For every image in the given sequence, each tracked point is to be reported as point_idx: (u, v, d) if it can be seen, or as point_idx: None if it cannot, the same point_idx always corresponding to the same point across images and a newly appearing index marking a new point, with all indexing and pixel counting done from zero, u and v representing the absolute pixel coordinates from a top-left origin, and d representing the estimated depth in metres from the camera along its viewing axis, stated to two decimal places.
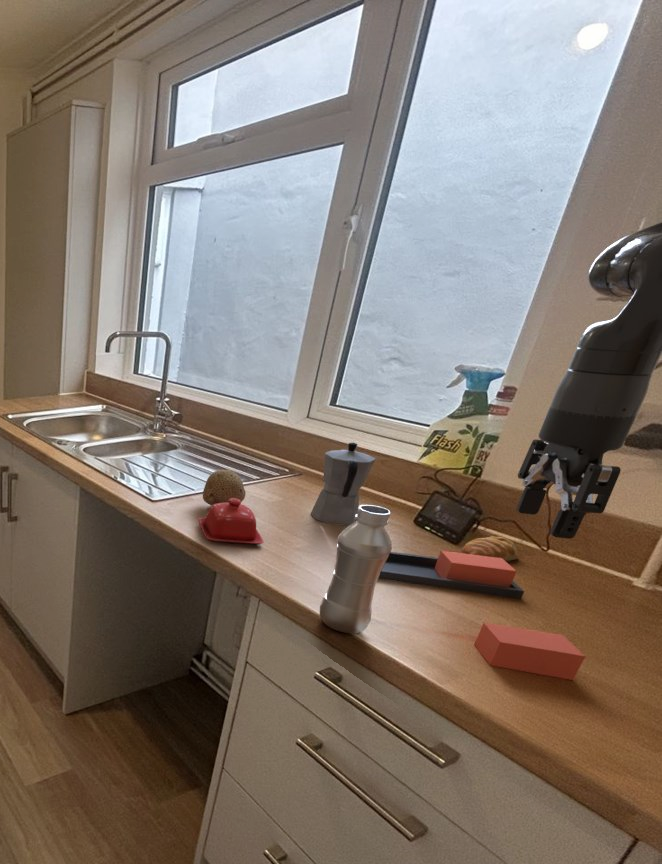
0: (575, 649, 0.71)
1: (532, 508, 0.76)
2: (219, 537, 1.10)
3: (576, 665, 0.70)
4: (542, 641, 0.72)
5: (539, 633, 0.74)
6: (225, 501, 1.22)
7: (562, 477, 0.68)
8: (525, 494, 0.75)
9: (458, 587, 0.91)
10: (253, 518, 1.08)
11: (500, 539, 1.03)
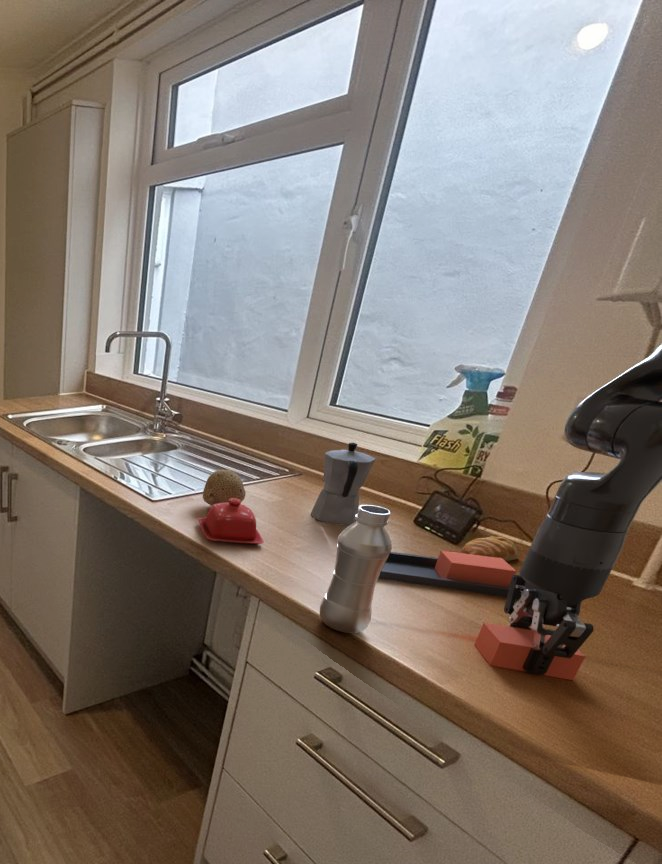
0: None
1: None
2: (219, 537, 1.10)
3: (576, 665, 0.70)
4: None
5: None
6: (225, 501, 1.22)
7: (539, 619, 0.70)
8: None
9: (458, 587, 0.91)
10: (253, 518, 1.08)
11: (500, 539, 1.03)
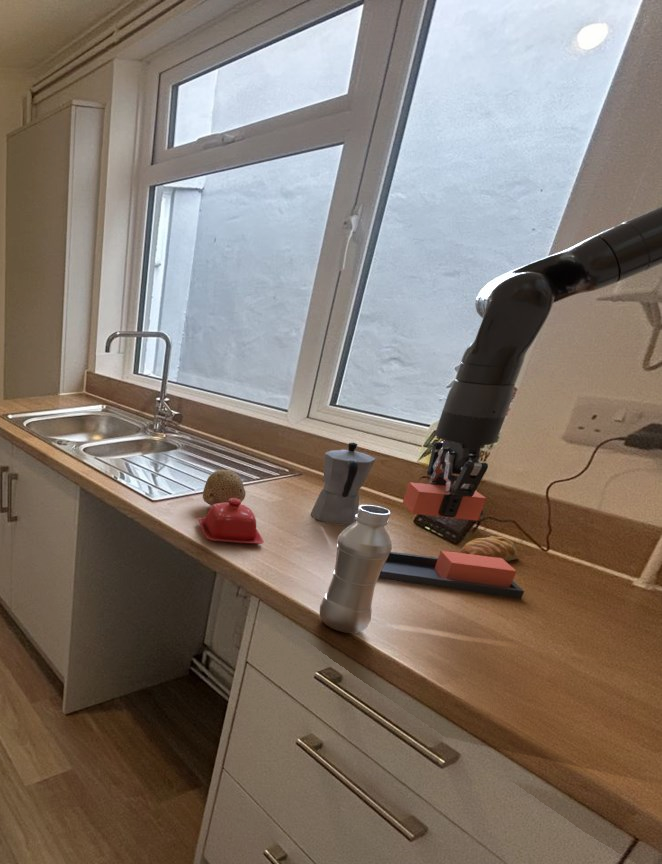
0: (479, 494, 0.85)
1: None
2: (219, 537, 1.10)
3: (479, 506, 0.85)
4: None
5: None
6: (225, 501, 1.22)
7: (449, 468, 0.84)
8: None
9: (458, 587, 0.91)
10: (253, 518, 1.08)
11: (500, 539, 1.03)
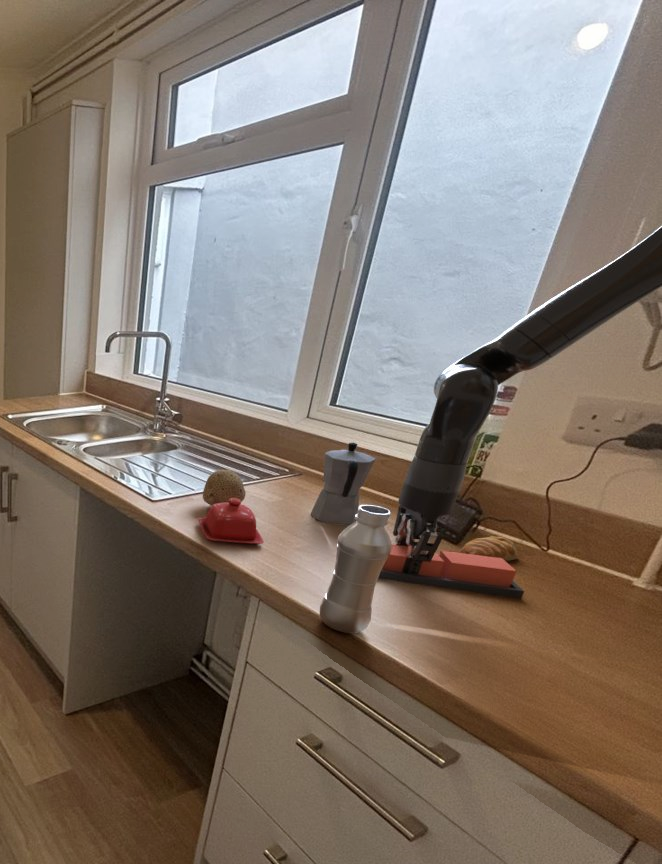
0: (438, 557, 0.94)
1: None
2: (219, 537, 1.10)
3: (438, 568, 0.93)
4: None
5: None
6: (225, 501, 1.22)
7: (410, 534, 0.93)
8: None
9: (458, 587, 0.91)
10: (253, 518, 1.08)
11: (500, 539, 1.03)
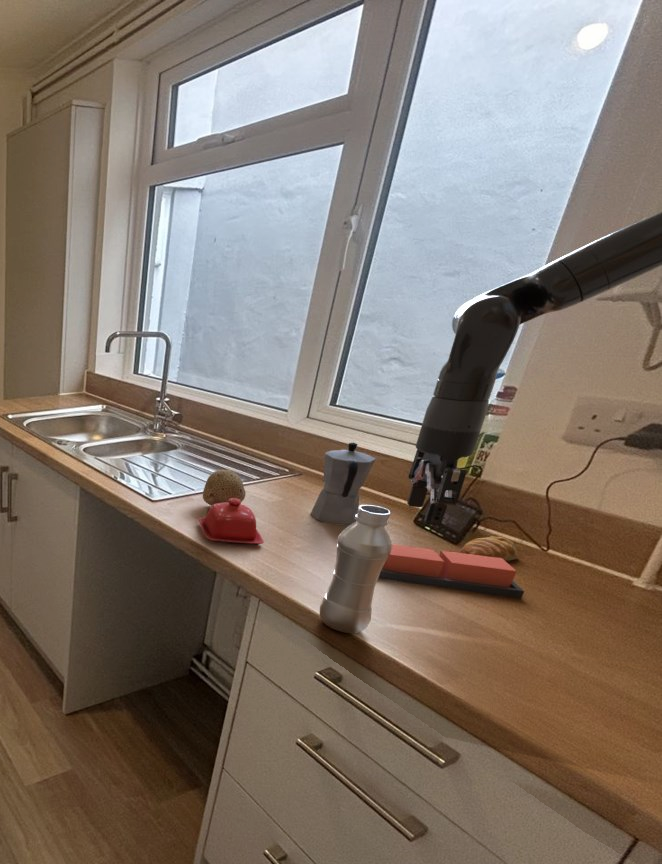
0: (438, 557, 0.94)
1: (418, 502, 0.96)
2: (219, 537, 1.10)
3: (438, 568, 0.93)
4: (415, 553, 0.95)
5: (415, 548, 0.97)
6: (225, 501, 1.22)
7: (430, 478, 0.88)
8: (412, 491, 0.96)
9: (458, 587, 0.91)
10: (253, 518, 1.08)
11: (500, 539, 1.03)
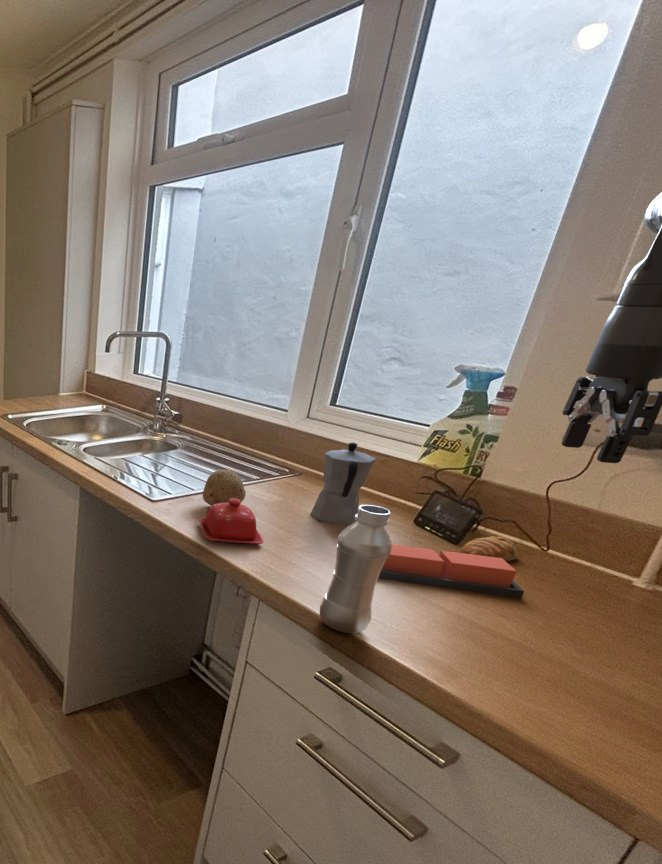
0: (438, 557, 0.94)
1: (576, 442, 0.81)
2: (219, 537, 1.10)
3: (438, 568, 0.93)
4: (415, 553, 0.95)
5: (415, 548, 0.97)
6: (225, 501, 1.22)
7: (609, 406, 0.73)
8: (570, 428, 0.81)
9: (458, 587, 0.91)
10: (253, 518, 1.08)
11: (500, 539, 1.03)
